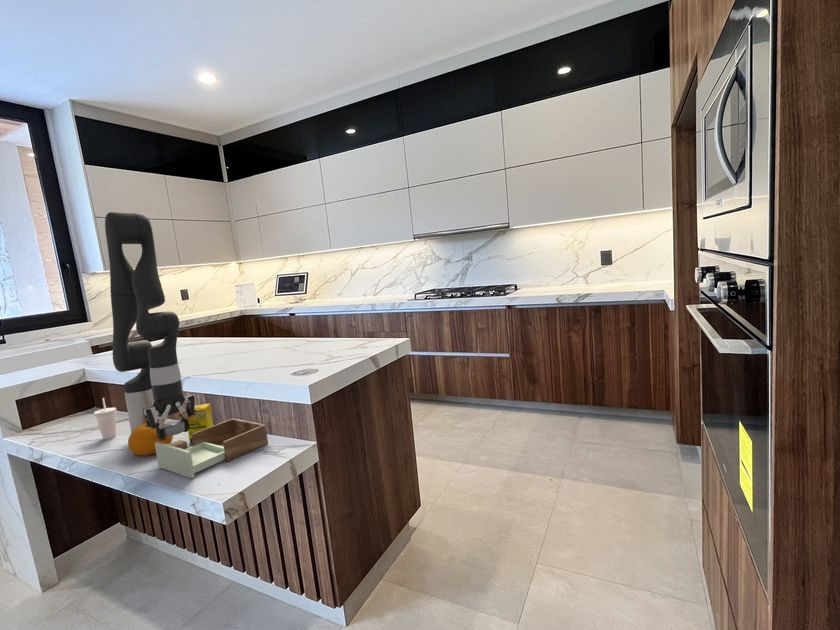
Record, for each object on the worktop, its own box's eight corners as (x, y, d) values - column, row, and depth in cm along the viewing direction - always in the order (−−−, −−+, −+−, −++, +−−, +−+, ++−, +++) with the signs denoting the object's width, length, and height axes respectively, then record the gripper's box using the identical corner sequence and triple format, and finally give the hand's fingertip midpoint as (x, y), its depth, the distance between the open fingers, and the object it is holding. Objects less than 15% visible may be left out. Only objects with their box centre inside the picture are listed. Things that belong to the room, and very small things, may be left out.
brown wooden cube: (167, 457, 125) (165, 445, 124) (181, 452, 128) (179, 439, 128) (175, 460, 123) (173, 447, 122) (188, 454, 126) (186, 441, 125)
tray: (158, 466, 118) (154, 442, 117) (202, 448, 129) (199, 426, 128) (191, 478, 109) (187, 452, 108) (236, 457, 120) (232, 434, 119)
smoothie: (121, 432, 152) (115, 394, 150) (120, 437, 147) (113, 398, 145) (99, 437, 149) (92, 398, 147) (97, 442, 143) (90, 402, 142)
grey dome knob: (157, 434, 124) (156, 426, 124) (178, 426, 129) (177, 419, 129) (168, 437, 121) (167, 429, 120) (189, 429, 126) (188, 422, 125)
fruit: (157, 441, 139) (152, 412, 138) (182, 444, 135) (178, 414, 134) (121, 457, 128) (115, 426, 127) (147, 461, 124) (142, 428, 123)
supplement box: (189, 444, 134) (184, 411, 133) (195, 437, 140) (190, 405, 139) (209, 441, 135) (204, 408, 134) (214, 434, 141) (210, 402, 140)
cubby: (194, 453, 127) (191, 433, 126) (235, 435, 138) (232, 418, 137) (227, 462, 118) (224, 442, 117) (268, 443, 129) (265, 424, 128)
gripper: (183, 373, 131) (191, 425, 133) (132, 386, 119) (141, 442, 121) (197, 375, 127) (204, 428, 129) (146, 388, 115) (154, 447, 117)
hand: (174, 435), depth 125 cm, fingers closed on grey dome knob, 6 cm apart
